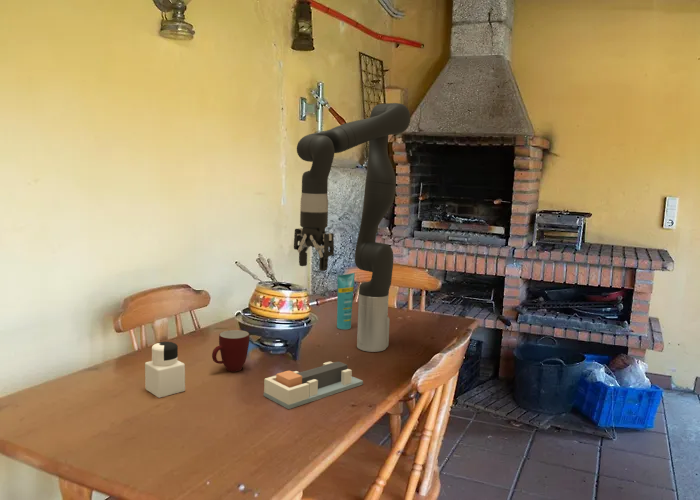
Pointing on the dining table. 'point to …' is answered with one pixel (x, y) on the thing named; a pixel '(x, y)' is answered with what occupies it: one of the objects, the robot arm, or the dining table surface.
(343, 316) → the tube
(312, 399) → the clip
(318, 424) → the dining table surface
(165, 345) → the medicine bottle
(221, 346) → the mug
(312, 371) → the bar
